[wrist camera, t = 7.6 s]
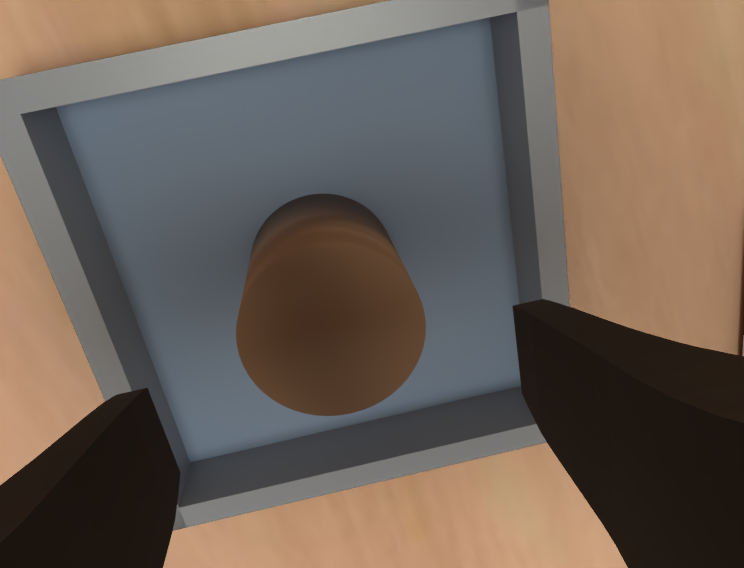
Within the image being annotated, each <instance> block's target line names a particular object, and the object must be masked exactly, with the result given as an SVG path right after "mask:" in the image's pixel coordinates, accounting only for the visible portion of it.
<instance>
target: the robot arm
mask: <svg viewBox="0 0 744 568" xmlns="http://www.w3.org/2000/svg"><path fill="white" fill-rule="evenodd" d="M512 308H513V317H514V326H515V335H516V344H517V353H518V362H519V371H520V380H521V389H522V395H523V397H524V399H525V401H526V403H527V406H528V408H529V410H530V412H531V414H532V416H533V418H534V420H535V422H536V424H537V426H538V428H539V430H540V432H541V434H542V435H543V437H544V438H545V440H546V442H547V443H548V445H549V446H550V448H551V449H552V451H553V452H554V453H555V455H556V456H557V458H558V459H559V461H560V462H561V464H562V465H563V467H564V468H565V470H566V471H567V473H568V474H569V476H570V477H571V478H572V480H573V481H574V483H575V484H576V486H577V487H578V489H579V490H580V492H581V493H582V494H583V496H584V497H585V499H586V500H587V502H588V503H589V505H590V506H591V508H592V509H593V510H594V512H595V513H596V515H597V516H598V518H599V519H600V521H601V522H602V524H603V525H604V527H605V528H606V530H607V532H608V533H609V535H610V537H611V538H612V540H613V541H614V543H615V545H616V546H617V548H618V550H619V552H620V554H621V556H622V557H623V559H624V561H625V563H626V565H627V567H628V568H744V337H743V355H742V356H739V355H733V354H728V353H724V352H719V351H714V350H709V349H704V348H700V347H695V346H691V345H687V344H683V343H679V342H675V341H671V340H668V339H664V338H661V337H658V336H654V335H651V334H647V333H644V332H641V331H637V330H634V329H631V328H628V327H625V326H622V325H619V324H616V323H613V322H610V321H608V320H605V319H602V318H599V317H596V316H593V315H591V314H588V313H585V312H582V311H580V310H577V309H574V308H571V307H568V306H565V305H563V304H560V303H556V302H553V301H550V300H545V299H540V300H536V301H531V302H527V303H522V304H518V305H513V306H512ZM180 473H181V472H180V470H179V467H178V465H177V462H176V460H175V457H174V454H173V452H172V449H171V447H170V444H169V442H168V439H167V436H166V434H165V431H164V429H163V426H162V424H161V421H160V419H159V416H158V413H157V411H156V408H155V406H154V403H153V401H152V398H151V395H150V393H149V390H148V388H144V389H139V390H135V391H130V392H126V393H121V394H117V395H115V396H113V397H111V398H110V399H108V400H107V401H105V402H104V403H103V404H101V405H100V406H99V407H97V408H96V409H95V410H93V411H92V412H91V413H90V414H88V415H87V416H86V417H85V418H83V419H82V420H81V421H80V422H79V423H77V424H76V425H75V426H74V427H73V428H71V429H70V430H69V431H68V432H67V433H65V434H64V435H63V436H62V437H60V438H59V439H58V440H57V441H56V442H54V443H53V444H52V445H51V446H50V447H48V448H47V449H46V450H45V451H44V452H42V453H41V454H40V455H39V456H37V457H36V458H35V459H34V460H32V461H31V462H30V463H29V464H27V465H26V466H25V467H23V468H22V469H21V470H20V471H18V472H17V473H16V474H14V475H13V476H12V477H11V478H9V479H8V480H7V481H5V482H4V483H3V484H2V485H0V568H163V565H164V561H165V557H166V554H167V550H168V546H169V542H170V538H171V535H172V531H173V527H174V523H175V517H176V510H177V502H178V494H179V484H180Z"/></svg>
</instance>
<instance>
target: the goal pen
mask: <svg viewBox="0 0 744 568" xmlns="http://www.w3.org/2000/svg"><path fill="white" fill-rule="evenodd" d="M0 155H1V158H2V160H3V162H4V165H5V167H6V169H7V172H8V174H9V176H10V179H11V181H12V183H13V186H14V188H15V191H16V193H17V195H18V198H19V200H20V202H21V205H22V207H23V209H24V212H25V214H26V216H27V219H28V221H29V223H30V226H31V228H32V230H33V233H34V235H35V237H36V240H37V242H38V244H39V247H40V249H41V252H42V254H43V256H44V259H45V261H46V263H47V266H48V268H49V270H50V273H51V275H52V277H53V280H54V282H55V284H56V287H57V289H58V291H59V294H60V296H61V298H62V301H63V303H64V306H65V308H66V310H67V313H68V315H69V317H70V320H71V322H72V324H73V327H74V329H75V331H76V334H77V336H78V338H79V341H80V343H81V345H82V348H83V350H84V352H85V355H86V357H87V359H88V362H89V364H90V367H91V369H92V371H93V374H94V376H95V378H96V381H97V383H98V385H99V388H100V390H101V392H102V395H103V397H104V399H105V401H107V400H108V399H110V398H111V397H113V396H115V395H117V394H121V393H126V392H130V391H135V390H139V389H144V388H148V390H149V393H150V395H151V398H152V401H153V403H154V406H155V408H156V411H157V413H158V416H159V419H160V421H161V424H162V426H163V429H164V431H165V434H166V436H167V439H168V442H169V444H170V447H171V449H172V452H173V454H174V457H175V460H176V462H177V465H178V467H179V470H180V472H181V473H180V484H179V494H178V502H177V510H176V517H175V523H174V527H173V531H174V530H178V529H182V528H186V527H190V526H195V525H199V524H203V523H207V522H212V521H216V520H220V519H224V518H229V517H233V516H237V515H241V514H246V513H250V512H254V511H258V510H262V509H267V508H271V507H275V506H279V505H284V504H288V503H292V502H296V501H301V500H305V499H309V498H313V497H317V496H322V495H326V494H330V493H334V492H339V491H343V490H347V489H351V488H356V487H360V486H364V485H368V484H373V483H377V482H381V481H385V480H389V479H394V478H398V477H402V476H406V475H411V474H415V473H419V472H423V471H428V470H432V469H436V468H440V467H444V466H449V465H453V464H457V463H461V462H466V461H470V460H474V459H478V458H483V457H487V456H491V455H495V454H500V453H504V452H508V451H512V450H516V449H521V448H525V447H529V446H533V445H538V444H542V443H546V440H545V438H544V437H543V435H542V434H541V432H540V430H539V428H538V426H537V424H536V422H535V420H534V418H533V416H532V414H531V412H530V410H529V408H528V406H527V403H526V401H525V399H524V397H523V395H522V389H521V380H520V371H519V362H518V353H517V344H516V335H515V326H514V317H513V308H512V306H513V305H518V304H522V303H527V302H531V301H536V300H540V299H545V300H550V301H553V302H556V303H560V304H563V305H565V306H568V307H570V303H569V288H568V274H567V260H566V245H565V231H564V216H563V202H562V187H561V173H560V158H559V144H558V130H557V115H556V101H555V86H554V72H553V57H552V43H551V28H550V14H549V0H389V1H384V2H380V3H375V4H370V5H365V6H360V7H355V8H350V9H345V10H340V11H335V12H330V13H326V14H321V15H316V16H311V17H306V18H301V19H296V20H291V21H286V22H281V23H276V24H272V25H267V26H262V27H257V28H252V29H247V30H242V31H237V32H232V33H227V34H222V35H218V36H213V37H208V38H203V39H198V40H193V41H188V42H183V43H178V44H173V45H168V46H164V47H159V48H154V49H149V50H144V51H139V52H134V53H129V54H124V55H119V56H114V57H110V58H105V59H100V60H95V61H90V62H85V63H80V64H75V65H70V66H65V67H60V68H56V69H51V70H46V71H41V72H36V73H31V74H26V75H21V76H16V77H11V78H6V79H2V80H0ZM312 194H335V195H340V196H344V197H347V198H350V199H352V200H355V201H357V202H358V203H360V204H362V205H364V206H365V207H366V208H368V209H369V210H370V211H371V212H372V213H373V214H374V215H375V216H377V218H378V219H379V220H380V221H381V223H382V224H383V226H384V227H385V229H386V231H387V233H388V235H389V237H390V239H391V241H392V243H393V245H394V247H395V249H396V251H397V253H398V254H399V256H400V258H401V260H402V262H403V264H404V266H405V268H406V270H407V272H408V274H409V276H410V278H411V280H412V282H413V284H414V286H415V288H416V290H417V292H418V294H419V297H420V299H421V302H422V304H423V309H424V313H425V320H426V337H425V342H424V347H423V350H422V353H421V356H420V359H419V361H418V363H417V365H416V367H415V369H414V370H413V372H412V373H411V375H410V376H409V378H408V379H407V380H406V381H405V382H404V383H403V385H402V386H401V387H399V388H398V389H397V390H396V391H395V392H394V393H393V394H391V395H390V396H389V397H387V398H386V399H384V400H383V401H381V402H379V403H377V404H376V405H374V406H372V407H369V408H367V409H364V410H362V411H358V412H355V413H351V414H345V415H338V416H317V415H310V414H305V413H301V412H298V411H294V410H292V409H289V408H287V407H285V406H282V405H281V404H279V403H277V402H275V401H274V400H272V399H271V398H270V397H268V396H267V395H266V394H264V393H263V392H262V391H261V390H260V389H259V388H258V387H257V386H256V385H255V383H254V382H253V381H252V380H251V378H250V377H249V375H248V374H247V372H246V370H245V368H244V367H243V364H242V362H241V359H240V357H239V353H238V348H237V342H236V324H237V318H238V313H239V309H240V304H241V299H242V295H243V290H244V285H245V281H246V276H247V271H248V266H249V262H250V257H251V252H252V248H253V243H254V241H255V238H256V235H257V233H258V231H259V230H260V228H261V226H262V225H263V223H264V222H265V221H266V219H267V218H268V217H269V216H270V215H271V214H272V213H273V212H274V211H276V210H277V209H278V208H279V207H281V206H282V205H284V204H286V203H287V202H289V201H292V200H294V199H296V198H299V197H302V196H306V195H312Z"/></svg>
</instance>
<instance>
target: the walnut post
mask: <svg viewBox="0 0 744 568" xmlns="http://www.w3.org/2000/svg"><path fill="white" fill-rule="evenodd" d="M425 337H426V320H425V313H424V309H423V304H422V302H421V299H420V297H419V294H418V292H417V290H416V288H415V286H414V284H413V282H412V280H411V278H410V276H409V274H408V272H407V270H406V268H405V266H404V264H403V262H402V260H401V258H400V256H399V254H398V253H397V251H396V249H395V247H394V245H393V243H392V241H391V239H390V237H389V235H388V233H387V231H386V229H385V227H384V226H383V224H382V223H381V221H380V220H379V219H378V218H377V216H375V215H374V214H373V213H372V212H371V211H370V210H369V209H368V208H366V207H365V206H364V205H362V204H360V203H358V202H357V201H355V200H352V199H350V198H347V197H344V196H340V195H335V194H312V195H306V196H302V197H299V198H296V199H294V200H292V201H289V202H287V203H286V204H284V205H282V206H281V207H279V208H278V209H277V210H276V211H274V212H273V213H272V214H271V215H270V216H269V217H268V218H267V219H266V221H265V222H264V223H263V225H262V226H261V228H260V230H259V231H258V233H257V235H256V238H255V241H254V243H253V248H252V252H251V257H250V262H249V266H248V271H247V276H246V281H245V285H244V290H243V295H242V299H241V304H240V309H239V313H238V318H237V324H236V342H237V348H238V353H239V357H240V359H241V362H242V364H243V367H244V368H245V370H246V372H247V374H248V375H249V377H250V378H251V380H252V381H253V382H254V383H255V385H256V386H257V387H258V388H259V389H260V390H261V391H262V392H263V393H264V394H266V395H267V396H268V397H270V398H271V399H272V400H274V401H275V402H277V403H279V404H281V405H282V406H285V407H287V408H289V409H292V410H294V411H298V412H301V413H305V414H310V415H317V416H338V415H345V414H351V413H355V412H358V411H362V410H364V409H367V408H369V407H372V406H374V405H376V404H377V403H379V402H381V401H383V400H384V399H386V398H387V397H389V396H390V395H391V394H393V393H394V392H395V391H396V390H397V389H398V388H399V387H401V386H402V385H403V383H404V382H405V381H406V380H407V379H408V378H409V376H410V375H411V373H412V372H413V370H414V369H415V367H416V365H417V363H418V361H419V359H420V356H421V353H422V350H423V347H424V342H425Z"/></svg>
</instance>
